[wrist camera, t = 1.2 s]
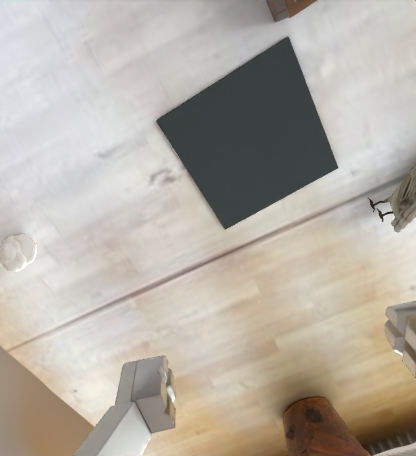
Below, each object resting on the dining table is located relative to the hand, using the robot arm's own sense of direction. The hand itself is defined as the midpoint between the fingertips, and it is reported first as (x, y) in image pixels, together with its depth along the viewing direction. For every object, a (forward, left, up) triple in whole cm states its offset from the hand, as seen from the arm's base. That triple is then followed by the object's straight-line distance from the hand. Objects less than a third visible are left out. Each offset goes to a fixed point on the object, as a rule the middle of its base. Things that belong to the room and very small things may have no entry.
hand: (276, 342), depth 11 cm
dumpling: (0, -34, -38) cm, 51 cm away
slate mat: (+5, +5, -38) cm, 39 cm away
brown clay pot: (+72, -12, -38) cm, 82 cm away
